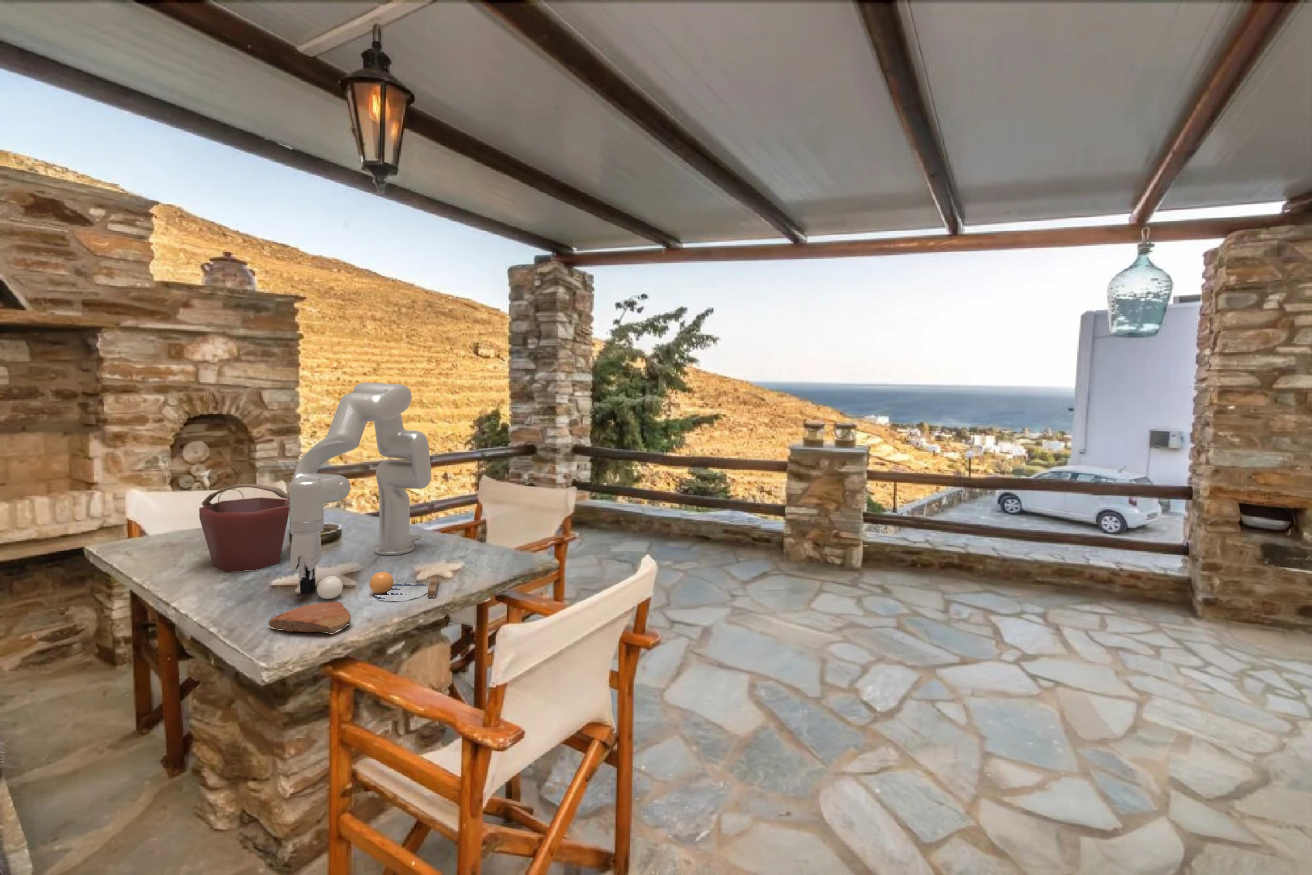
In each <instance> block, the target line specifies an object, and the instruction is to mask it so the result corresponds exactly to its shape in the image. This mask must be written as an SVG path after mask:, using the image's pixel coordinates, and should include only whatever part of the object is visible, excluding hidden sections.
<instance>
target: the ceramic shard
mask: <svg viewBox="0 0 1312 875" xmlns="http://www.w3.org/2000/svg"><path fill="white" fill-rule="evenodd" d="M351 617H352V615H351V613H350V611H349V610H348V609H347V608H346V607H345V605H344V604H343V603H342V601H341V602H340V601H326V602H325V601H324V602H318V603H312V604H308V605H303V606H299V607H297V608H293V609H291V610H288V611H285V612H283V613H280V614H278V615H276V616H274V617H272V618H271V619H269V620H268V625H269V627H270V626H271V627H273V628H276V629H283V630H286V631H285V632H290V631H291V632H290V633H292V632H293V631H294V632H296V633H298V632H301V633H302V632H303V633H321V632H328V633H335V632H336V631H337V630H339V629H343V628H344V627H345V626H346V625H347V624H350V625H351V621H352V620H351V619H352V618H351ZM345 628H346V627H345ZM345 628H344V629H345ZM344 629H343V630H344Z"/></svg>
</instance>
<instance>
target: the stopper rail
mask: <svg viewBox="0 0 1312 875" xmlns="http://www.w3.org/2000/svg"><path fill="white" fill-rule="evenodd" d="M439 580H440V576H439V575H434V576H431V578H430V580H429V581H430V582H429V584H428V587H429V588H428V593H427V598H428V597H430V596H431V597H433V596H436V597H437V593H436V592H438V588H439V584H438V582H440V581H439ZM437 587H438V588H437Z"/></svg>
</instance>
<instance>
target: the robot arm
mask: <svg viewBox="0 0 1312 875" xmlns="http://www.w3.org/2000/svg"><path fill="white" fill-rule="evenodd" d="M412 398H413V396H412V391H411V389H410V388H409V387H407V386H406V385H404V384H398V383H381V382H362V383H358V384H356V385H355V386H354V387H353V390H352V392H349V393H346V394H344V395H343V396H342V397H341V398H340V400H339V403H338V405H337V408H336V411H335V413H334V416H333V418H332V421H331V423H330V426H329V428H328V431H327V434H326V435H325V437H324V438H323V439H321V440H320V441H319V442H317V443H316V444H315V445H314V446H311V448H310V449H308V451H307V452H305V453H304V455H302V457H301V458H300V460H299V461H298V464H297V465H296V468H295V471H294V473H293V476H292V479H291V482H290V484H289V490H288V494H289V503H290V507H289V533H290V534H291V535H292V537H291V542H290V543H291V544H290V560H289V561H290V562H289V564H290V565H289V571H290V572H291V573H295V572H296V570H297V569H298V578H299V594H300V595H301V596H302V595H313V594H314V593H315V592H317V586H316V570H317V569H316V568H317V567H316V566H317V565H318V564H319V563H320V561H321V558H322V540H321V532H323V531H324V530H325V529H324V527H325V525H324V524H325V523H324V522H325V521H324V505H325V504H327V503H336V502H341V501H343V500H344V499H345V498H347V496H348V495H349V494H350V492H351V482H350V480H349V479H348V478H347V477H345V476H343V475H342V474H341V475H340V474H331V473H328V474H327V473H318V470H319V469H320V468H321V466H323V465H324V464H325V463H326V462H328V461H329V460H331V459H333V458H336V457H337V456H342V455H344V454H346V453H349V452H351V451H353V450H356V449H357V448H358V447H359V445H360V442H361V441H362V440H361V439H362V436H363V434H364V430H365V428H366V425H367V423H368V422H373V424H374V430H375V438H376V439H375V440H376V446H377V452H378V453H379V454H380V455H381V456H382V457H385V458H391V459H387V460H384V461H382V462H381V461H380V463H379V464H378V465H377V466H376V468H375V469H376V470H375V479H376V483H377V488H378V503H379V509H378V512H379V513H378V514H379V515H378V517H379V520H378V526H379V531H378V532H379V533H378V534H379V535H378V537H379V539H378V540H379V541H378V543H379V544H378V545H377V546H375V547H374V549H373V552H374V554H376V555H381V556H399V555H403V554H407V553H411V552H413V550H415V544H414V542H415V541H419V540H421V539H422V535H421V534H420V533H419V534H415V535H413V534H411V530H410V529H411V523H410V522H411V520H410V518H411V500H410V496H409V493H408V492H407V491H406V489H412V490H415V489H416V490H422V489H425V488H428V486H429V485H430V483H431V480H432V465H431V455H430V445H429V440H428V438H427V436H426V435H425V434H424V433H423V432H422V431H418V430H411V429H410V430H407V429H405V428H404V424H403V416H402V413H404V412H405V411H407V409H408V408H409V407H410V406H411V403H412V401H413V400H412ZM407 459H408V460H407Z"/></svg>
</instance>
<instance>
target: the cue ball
mask: <svg viewBox="0 0 1312 875" xmlns="http://www.w3.org/2000/svg"><path fill="white" fill-rule="evenodd" d="M343 587H344V585H343V581H342V580H341V579H340V577H338V576H334V575H328V576H325V577H323V578H322V579H320V580H319V582H318V583H317V586H316V593H317V595H318V596H319V597H320V598H322V599H324V600H332V599H335V598H337V597H338V596H339V595H340V594H341V593H342V591H343V589H344V588H343Z"/></svg>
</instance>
